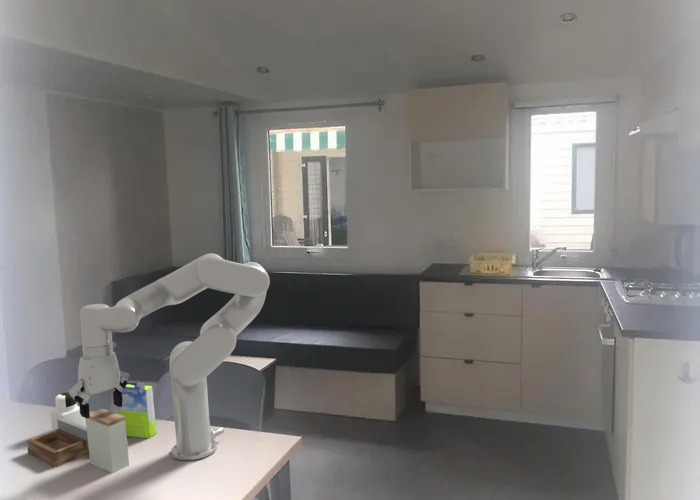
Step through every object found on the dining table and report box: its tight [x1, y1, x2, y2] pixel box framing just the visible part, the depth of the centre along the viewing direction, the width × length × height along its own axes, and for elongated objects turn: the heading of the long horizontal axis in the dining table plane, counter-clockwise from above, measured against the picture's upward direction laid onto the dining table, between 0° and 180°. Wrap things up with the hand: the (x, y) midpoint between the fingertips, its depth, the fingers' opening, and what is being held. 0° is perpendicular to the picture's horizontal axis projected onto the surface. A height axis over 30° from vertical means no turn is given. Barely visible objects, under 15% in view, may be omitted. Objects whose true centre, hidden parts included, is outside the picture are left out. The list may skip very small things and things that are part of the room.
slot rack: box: [26, 418, 89, 468], centre depth 177 cm, size 11×16×7 cm
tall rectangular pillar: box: [85, 408, 130, 474], centre depth 168 cm, size 5×11×14 cm, turn 53°
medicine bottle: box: [50, 391, 86, 431], centre depth 192 cm, size 7×7×12 cm
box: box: [117, 381, 157, 439], centre depth 187 cm, size 10×4×17 cm, turn 74°
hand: (102, 411), depth 167 cm, fingers open, 9 cm apart
